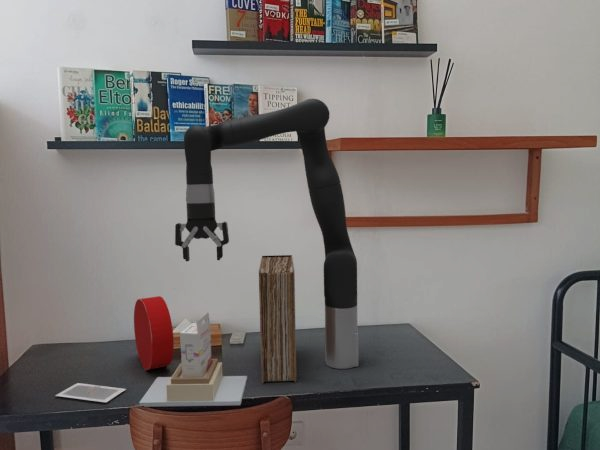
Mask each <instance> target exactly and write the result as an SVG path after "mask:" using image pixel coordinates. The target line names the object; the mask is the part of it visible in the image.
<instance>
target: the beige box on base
mask: <svg viewBox="0 0 600 450" xmlns="http://www.w3.org/2000/svg"><path fill="white" fill-rule="evenodd" d="M211 363H212V364H211V366H210V368H209V370H208V371H207V373H206V374H205V375H204V376H203V377H182V362H180V363H179V364H178V366H177V368H176V370H175V371H174V373H173V374H172V375H171V376H157V377H156V379H155V380H154V381H153V382H152V384H151V386H150V387H149V389H147V391H146V392H145V394H144V395H143V397H142V398H141V399H140V401H139V403H138V407H139V406H144V408H145V407H148V408H149V407H153V408H155V407H156V408H157V407H207V406H208V407H213V406H214V407H215V406H216V407H217V406H218V407H219V406H220V407H221V406H223V407H224V406H241V404H242V401H243V399H244V398H243V397H244V393H245V390H246V386H247V382H248V375H223V361H222V362H219V358H211Z"/></svg>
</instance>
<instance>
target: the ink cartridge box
mask: <svg viewBox="0 0 600 450" xmlns="http://www.w3.org/2000/svg"><path fill="white" fill-rule="evenodd" d="M203 321H204V322H203ZM210 322H211V321H210V315H209V312H208V311H207V312H206V313H205V314H203V315H202V316H201V317H200V318H198V319H197V320H196V321H195V322H192V323H190V325H188V326H187V327H185V328H184V329H183V330H182V331H181V332H180V333H179V339H180V340H179V341H180V358H181V359H180V360H181V363H182V377H203V376H204V375H205V374H206V373H207V371H208V370H209V368H210V366H211V364H212V363H211V359H212V340H211V339H212V338H211V336H212V335H211V323H210Z"/></svg>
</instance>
